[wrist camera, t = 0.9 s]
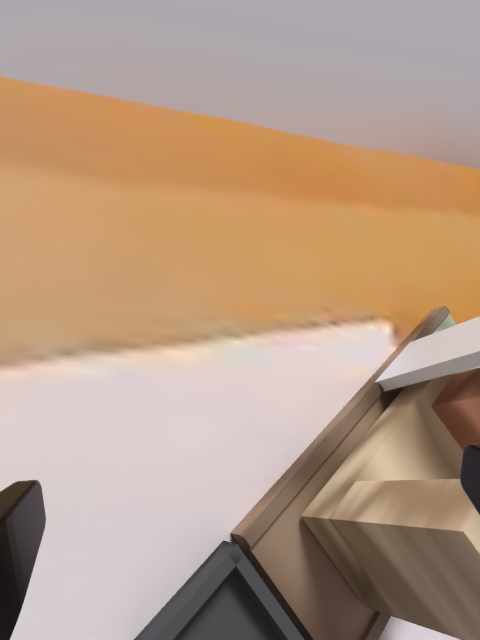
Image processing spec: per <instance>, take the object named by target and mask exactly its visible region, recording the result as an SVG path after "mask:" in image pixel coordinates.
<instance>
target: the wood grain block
mask: <svg viewBox="0 0 480 640" xmlns="http://www.w3.org/2000/svg"><path fill="white" fill-rule="evenodd" d="M475 443H480V367H479V368H476V369H472V370H468V371H464V372H456V373H453V374H449V375H445V376H441V377H438V378H434V379H430V380H426V381H422V382H419V383H415V384H411V385H407V386H404V388H403V389H402V390H401V391H400V393H399V394H398V395H397V396H396V398H395V399H394V400H393V401H392V403H391V404H390V405H389V406H388V408H387V409H386V410H385V411H384V413H383V414H382V415H381V416H380V418H379V419H378V420H377V421H376V423H375V424H374V425H373V426H372V428H371V429H370V430H369V431H368V433H367V434H366V435H365V436H364V438H363V439H362V440H361V441H360V443H359V444H358V445H357V446H356V448H355V449H354V450H353V451H352V453H351V454H350V455H349V456H348V458H347V459H346V460H345V461H344V463H343V464H342V465H341V466H340V468H339V469H338V470H337V471H336V472H335V474H334V475H333V476H332V477H331V479H330V480H329V481H328V482H327V484H326V485H325V486H324V487H323V489H322V490H321V491H320V492H319V494H318V495H317V496H316V497H315V499H314V500H313V501H312V502H311V504H310V505H309V506H308V507H307V509H306V510H305V511H304V512H303V514H302V515H301V517H302V519H303V520H304V522H305V523H306V524H307V526H308V527H309V529H310V530H311V531H312V533H313V534H314V536H315V537H316V538H317V540H318V541H319V543H320V544H321V545H322V547H323V548H324V550H325V551H326V553H327V554H328V555H329V557H330V558H331V560H332V561H333V562H334V564H335V565H336V567H337V568H338V569H339V571H340V572H341V574H342V575H343V577H344V578H345V579H346V581H347V582H348V584H349V585H350V586H351V588H352V589H353V591H354V592H355V593H356V595H357V596H358V598H359V599H360V600H361V602H362V603H363V605H364V606H365V607H367V608H370V609H372V610H375V611H378V612H381V613H384V614H387V615H390V616H393V617H396V618H399V619H402V620H405V621H408V622H411V623H414V624H417V625H420V626H423V627H426V628H429V629H432V630H435V631H438V632H441V633H444V634H447V635H449V636H452V637H455V638H458V639H461V640H480V515H479V513H478V512H477V510H476V509H475V507H474V505H473V504H472V502H471V501H470V499H469V498H468V496H467V494H466V493H465V491H464V490H463V488H462V485H461V482H460V473H461V465H462V457H463V450H464V448H465V446H467V445H468V444H475Z"/></svg>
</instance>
